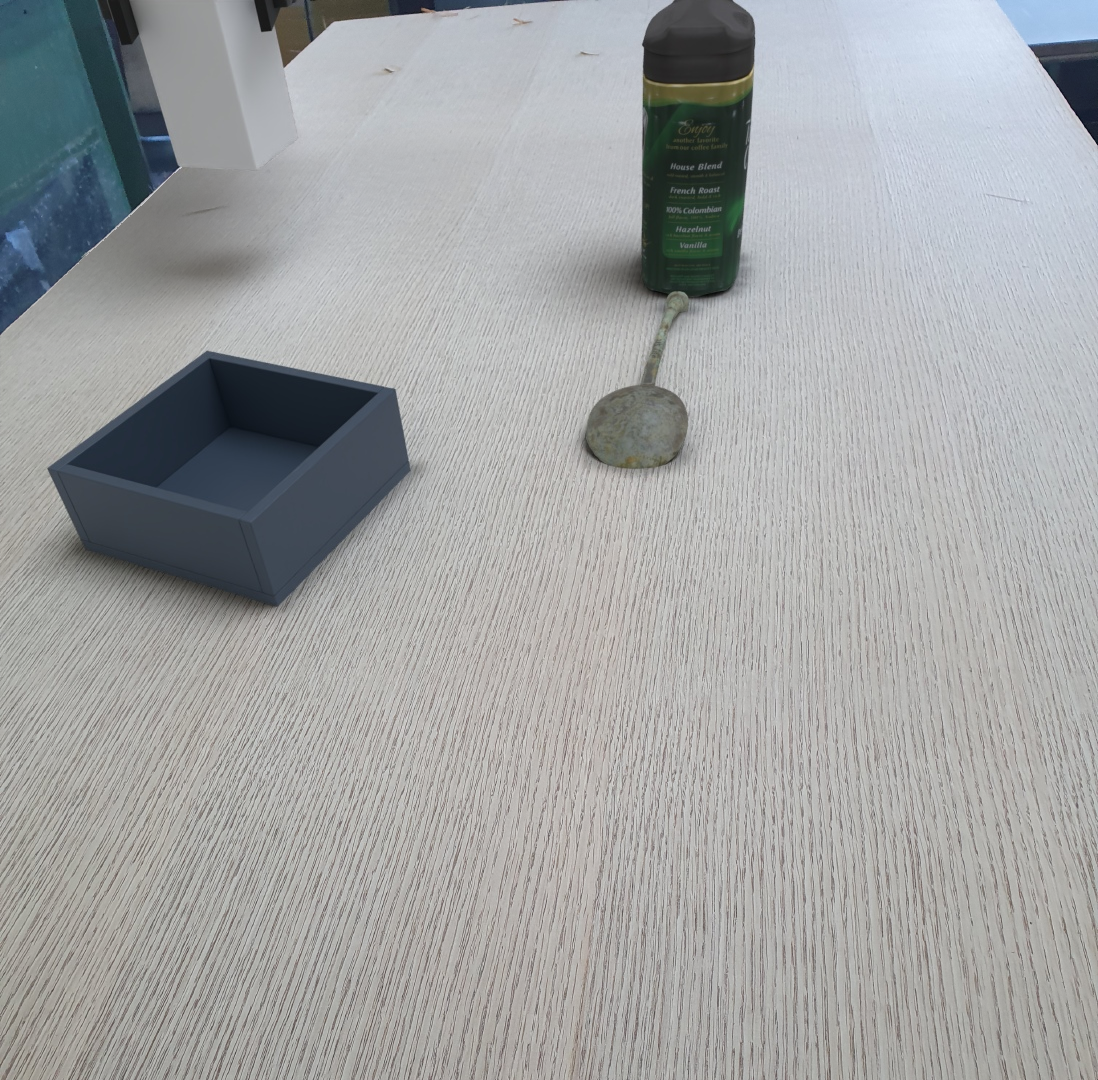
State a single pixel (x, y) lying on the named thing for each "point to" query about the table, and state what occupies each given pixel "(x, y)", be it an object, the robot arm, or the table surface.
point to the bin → (236, 474)
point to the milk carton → (217, 81)
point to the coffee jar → (695, 144)
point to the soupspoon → (641, 413)
